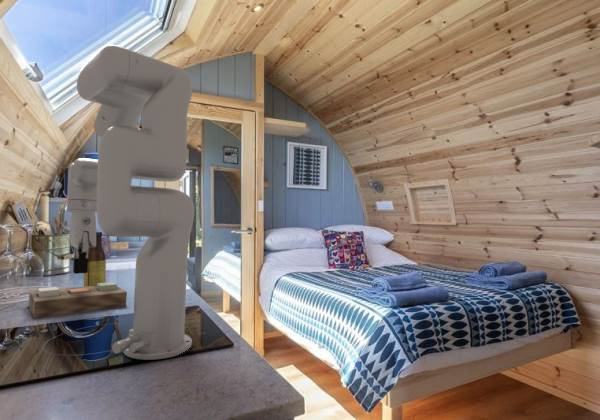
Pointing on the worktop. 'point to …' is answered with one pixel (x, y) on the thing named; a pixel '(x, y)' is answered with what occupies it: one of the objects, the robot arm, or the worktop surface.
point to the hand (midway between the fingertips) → (80, 272)
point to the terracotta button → (78, 291)
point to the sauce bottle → (96, 264)
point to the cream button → (48, 292)
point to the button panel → (75, 301)
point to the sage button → (106, 286)
